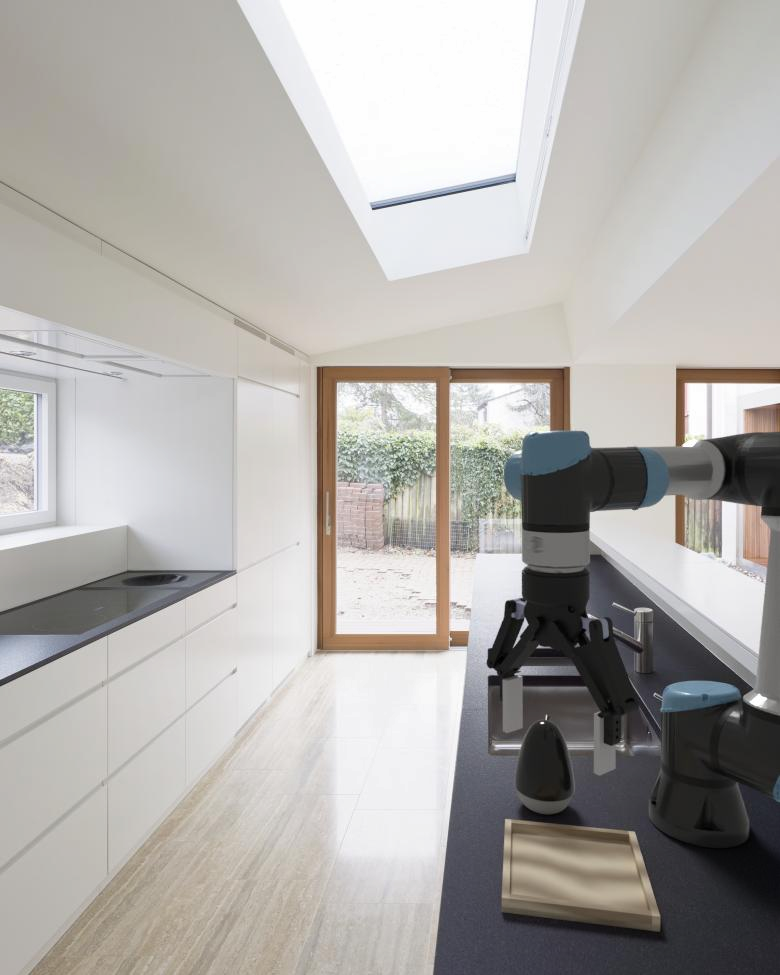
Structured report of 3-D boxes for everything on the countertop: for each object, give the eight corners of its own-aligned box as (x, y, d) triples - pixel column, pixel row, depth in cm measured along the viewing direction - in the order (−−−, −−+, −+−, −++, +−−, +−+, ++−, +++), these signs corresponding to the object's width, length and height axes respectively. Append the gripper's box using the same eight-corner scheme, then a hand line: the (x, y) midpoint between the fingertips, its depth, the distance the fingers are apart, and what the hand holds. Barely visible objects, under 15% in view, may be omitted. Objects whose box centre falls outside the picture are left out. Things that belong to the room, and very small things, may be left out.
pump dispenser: (575, 796, 121) (576, 712, 120) (573, 826, 111) (574, 735, 111) (518, 788, 124) (518, 706, 124) (510, 816, 114) (511, 728, 114)
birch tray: (505, 830, 110) (505, 818, 110) (634, 844, 106) (634, 831, 106) (501, 912, 90) (501, 897, 90) (660, 931, 87) (660, 916, 87)
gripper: (458, 556, 85) (459, 722, 86) (629, 587, 65) (629, 803, 66) (501, 551, 90) (502, 708, 91) (674, 578, 69) (673, 781, 70)
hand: (555, 749), depth 78 cm, fingers open, 13 cm apart
